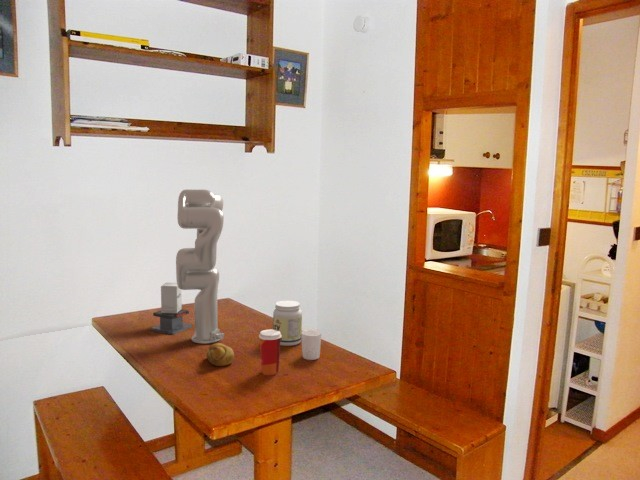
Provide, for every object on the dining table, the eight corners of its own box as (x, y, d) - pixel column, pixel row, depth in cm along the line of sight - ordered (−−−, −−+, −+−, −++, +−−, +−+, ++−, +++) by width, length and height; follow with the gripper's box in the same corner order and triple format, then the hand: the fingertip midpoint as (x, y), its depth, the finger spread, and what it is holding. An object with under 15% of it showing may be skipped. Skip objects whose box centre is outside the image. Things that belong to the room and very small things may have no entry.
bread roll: (202, 358, 203) (202, 338, 202) (226, 354, 207) (226, 335, 206) (212, 369, 192) (212, 348, 190) (237, 365, 196) (237, 344, 195)
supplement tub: (268, 339, 226) (268, 301, 224) (294, 335, 231) (294, 298, 229) (279, 348, 215) (280, 308, 213) (306, 344, 221) (307, 305, 218)
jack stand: (192, 327, 241) (191, 310, 240) (172, 334, 230) (172, 317, 229) (170, 322, 247) (170, 306, 246) (150, 330, 235) (149, 313, 234)
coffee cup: (269, 366, 196) (270, 327, 194) (286, 371, 191) (286, 332, 189) (253, 372, 189) (253, 332, 187) (269, 378, 184) (269, 337, 182)
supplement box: (177, 313, 234) (176, 286, 232) (160, 313, 234) (160, 285, 232) (182, 309, 241) (181, 282, 239) (166, 309, 241) (165, 282, 240)
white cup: (303, 361, 201) (303, 336, 200) (298, 354, 209) (299, 330, 207) (323, 359, 203) (323, 334, 202) (318, 352, 211) (318, 328, 210)
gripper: (206, 224, 240) (206, 260, 242) (215, 220, 257) (216, 254, 259) (190, 223, 240) (190, 260, 242) (200, 219, 257) (201, 254, 259)
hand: (204, 257), depth 251 cm, fingers open, 9 cm apart
